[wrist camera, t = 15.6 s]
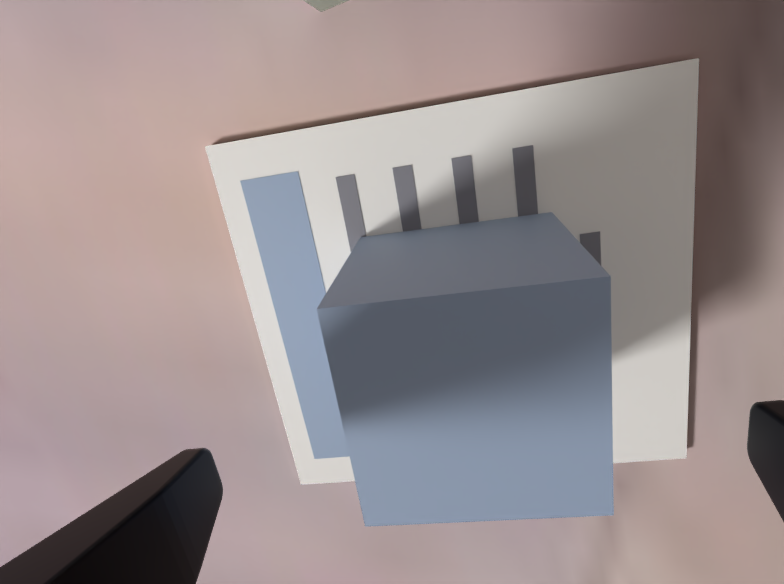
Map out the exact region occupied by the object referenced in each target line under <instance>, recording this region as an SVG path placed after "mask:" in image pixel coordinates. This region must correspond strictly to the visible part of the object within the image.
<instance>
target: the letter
mask: <svg viewBox="0 0 784 584" xmlns="http://www.w3.org/2000/svg"><path fill="white" fill-rule="evenodd" d="M698 80H699V58H697V59H691V60H685V61H679V62H674V63H668V64H663V65H657V66H651V67H646V68H640V69H635V70H629V71H623V72H618V73H612V74H607V75H601V76H596V77H590V78H584V79H579V80H573V81H568V82H562V83H556V84H551V85H545V86H540V87H534V88H528V89H523V90H517V91H512V92H506V93H501V94H495V95H489V96H484V97H478V98H473V99H467V100H461V101H456V102H450V103H445V104H439V105H433V106H428V107H422V108H417V109H411V110H406V111H400V112H394V113H389V114H383V115H378V116H372V117H366V118H361V119H355V120H350V121H344V122H338V123H333V124H327V125H322V126H316V127H310V128H305V129H299V130H294V131H288V132H283V133H277V134H271V135H266V136H260V137H255V138H249V139H243V140H238V141H232V142H227V143H221V144H215V145H210V146H205V148H206V152H207V155H208V159H209V162H210V166H211V169H212V173H213V177H214V180H215V184H216V187H217V191H218V194H219V198H220V201H221V205H222V208H223V212H224V215H225V219H226V222H227V226H228V229H229V233H230V236H231V240H232V243H233V247H234V250H235V254H236V257H237V261H238V265H239V268H240V272H241V275H242V279H243V282H244V286H245V289H246V293H247V296H248V300H249V303H250V307H251V310H252V314H253V317H254V321H255V324H256V328H257V331H258V335H259V338H260V342H261V345H262V349H263V353H264V356H265V360H266V363H267V367H268V370H269V374H270V377H271V381H272V384H273V388H274V391H275V395H276V398H277V402H278V405H279V409H280V412H281V416H282V419H283V423H284V426H285V430H286V433H287V437H288V440H289V444H290V448H291V451H292V455H293V458H294V462H295V465H296V469H297V472H298V476H299V479H300V483H301V485H305V484H320V483H334V482H349V481H355V478H354V474H353V469H352V465H351V460H350V456H349V451H348V447H347V443H346V438H345V434H344V429H343V425H342V420H341V416H340V411H339V407H338V402H337V398H336V394H335V389H334V385H333V380H332V376H331V371H330V367H329V362H328V358H327V353H326V349H325V345H324V340H323V336H322V331H321V327H320V322H319V318H318V313H317V307H318V306H319V304H320V302H321V301H322V299H323V297H324V296H325V294H326V293H327V291H328V289H329V288H330V286H331V284H332V283H333V281H334V279H335V278H336V276H337V275H338V273H339V271H340V270H341V268H342V266H343V265H344V263H345V261H346V260H347V258H348V257H349V255H350V253H351V252H352V250H353V248H354V247H355V245H356V244H357V242H358V240H359V239H360V237H366V236H373V235H381V234H388V233H396V232H404V231H411V230H419V229H427V228H434V227H442V226H450V225H457V224H465V223H472V222H480V221H488V220H495V219H503V218H511V217H518V216H526V215H534V214H541V213H549V212H552V213H553V214H554V215H555V216H556V217H557V218H558V219H559V220H560V222H561V223H562V224H563V225H564V226H565V227H566V228H567V229H568V230H569V231H570V232H571V234H572V235H573V236H574V237H575V238H576V239H577V240H578V241H579V242H580V243H581V244H582V246H583V247H584V248H585V249H586V250H587V251H588V252H589V253H590V254H591V255H592V256H593V257H594V259H595V260H596V261H597V262H598V263H599V264H600V265H601V266H602V267H603V268H604V269H605V271H606V272H607V273H608V274H609V275H610V276H611V342H612V425H613V463H624V462H638V461H653V460H667V459H682V458H686V456H687V425H688V394H689V362H690V331H691V300H692V268H693V237H694V206H695V174H696V143H697V111H698Z"/></svg>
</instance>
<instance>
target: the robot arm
mask: <svg viewBox="0 0 784 584" xmlns="http://www.w3.org/2000/svg"><path fill="white" fill-rule="evenodd" d="M747 451H748V456H749V459H750V461H751V463H752V465H753V467H754V469H755V471H756V473H757V474H758V476H759V478H760V480H761V482H762V483H763V485H764V487H765V489H766V491H767V493H768V494H769V496H770V498H771V500H772V502H773V503H774V505H775V507H776V509H777V511H778V512H779V514H780V516H781V518H782V520H783V522H784V401H783V400H776V401H765V402H756V403H755V404H753V405H752V407H751V410H750V417H749V429H748V441H747ZM222 495H223V487H222V482H221V479H220V476H219V473H218V471H217V468H216V465H215V462H214V459H213V456H212V454H211V452H210V451H209V450H208V449H206V448H197V449H187V450H184V451H182V452H180V453H179V454H177V455H176V456H174V457H172V458H171V459H169V460H168V461H166V462H165V463H163V464H161V465H160V466H158V467H157V468H155V469H154V470H152V471H150V472H149V473H147V474H146V475H144V476H143V477H141V478H139V479H138V480H136V481H135V482H133V483H132V484H130V485H129V486H127V487H125V488H124V489H122V490H121V491H119V492H118V493H116V494H114V495H113V496H111V497H110V498H108V499H107V500H105V501H103V502H102V503H100V504H99V505H97V506H96V507H94V508H92V509H91V510H89V511H88V512H86V513H85V514H83V515H81V516H80V517H78V518H77V519H75V520H74V521H72V522H70V523H69V524H67V525H66V526H64V527H63V528H61V529H60V530H58V531H56V532H55V533H53V534H52V535H50V536H49V537H47V538H45V539H44V540H42V541H41V542H39V543H38V544H36V545H34V546H33V547H31V548H30V549H28V550H27V551H25V552H23V553H22V554H20V555H19V556H17V557H16V558H14V559H12V560H11V561H9V562H8V563H6V564H5V565H3V566H2V567H0V584H196V581H197V579H198V576H199V573H200V570H201V567H202V563H203V560H204V557H205V553H206V550H207V547H208V543H209V540H210V537H211V533H212V530H213V527H214V523H215V520H216V517H217V513H218V510H219V507H220V503H221V500H222Z"/></svg>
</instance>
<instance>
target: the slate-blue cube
mask: <svg viewBox="0 0 784 584" xmlns="http://www.w3.org/2000/svg"><path fill="white" fill-rule="evenodd" d="M317 313H318V318H319V322H320V327H321V331H322V336H323V340H324V345H325V349H326V353H327V358H328V362H329V367H330V371H331V376H332V380H333V385H334V389H335V394H336V398H337V402H338V407H339V411H340V416H341V420H342V425H343V429H344V434H345V438H346V443H347V447H348V451H349V456H350V460H351V465H352V469H353V474H354V478H355V483H356V487H357V492H358V496H359V500H360V505H361V509H362V514H363V518H364V523H365V526H387V525H409V524H431V523H453V522H475V521H496V520H518V519H540V518H562V517H584V516H606V515H614V507H613V425H612V342H611V276H610V275H609V274H608V273H607V272H606V271H605V269H604V268H603V267H602V266H601V265H600V264H599V263H598V262H597V261H596V260H595V259H594V257H593V256H592V255H591V254H590V253H589V252H588V251H587V250H586V249H585V248H584V247H583V246H582V244H581V243H580V242H579V241H578V240H577V239H576V238H575V237H574V236H573V235H572V234H571V232H570V231H569V230H568V229H567V228H566V227H565V226H564V225H563V224H562V223H561V222H560V220H559V219H558V218H557V217H556V216H555V215H554V214H553V213H552V212H549V213H541V214H534V215H526V216H518V217H511V218H503V219H495V220H488V221H480V222H472V223H465V224H457V225H450V226H442V227H434V228H427V229H419V230H411V231H404V232H396V233H388V234H381V235H373V236H366V237H360V239H359V240H358V242H357V244H356V245H355V247H354V248H353V250H352V252H351V253H350V255H349V257H348V258H347V260H346V261H345V263H344V265H343V266H342V268H341V270H340V271H339V273H338V275H337V276H336V278H335V279H334V281H333V283H332V284H331V286H330V288H329V289H328V291H327V293H326V294H325V296H324V297H323V299H322V301H321V302H320V304H319V306H318V307H317Z"/></svg>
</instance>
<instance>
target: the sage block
mask: <svg viewBox="0 0 784 584" xmlns="http://www.w3.org/2000/svg"><path fill="white" fill-rule="evenodd" d="M304 1H305V2H307V3H308V4H310V5H311V6H313V7H314V8H316V9H317V10H319V11H320V12H322V11H325V10H327V9H329V8H332V7H334V6H336V5H339V4H341V3H344V2H346V1H348V0H304Z"/></svg>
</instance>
